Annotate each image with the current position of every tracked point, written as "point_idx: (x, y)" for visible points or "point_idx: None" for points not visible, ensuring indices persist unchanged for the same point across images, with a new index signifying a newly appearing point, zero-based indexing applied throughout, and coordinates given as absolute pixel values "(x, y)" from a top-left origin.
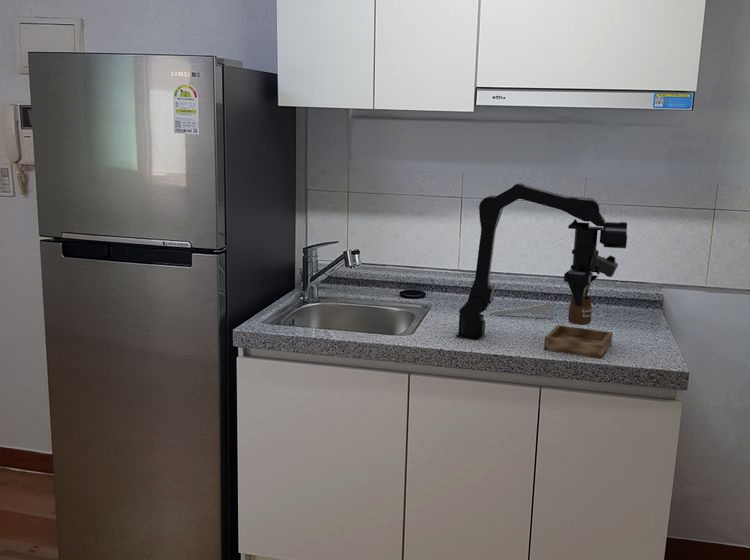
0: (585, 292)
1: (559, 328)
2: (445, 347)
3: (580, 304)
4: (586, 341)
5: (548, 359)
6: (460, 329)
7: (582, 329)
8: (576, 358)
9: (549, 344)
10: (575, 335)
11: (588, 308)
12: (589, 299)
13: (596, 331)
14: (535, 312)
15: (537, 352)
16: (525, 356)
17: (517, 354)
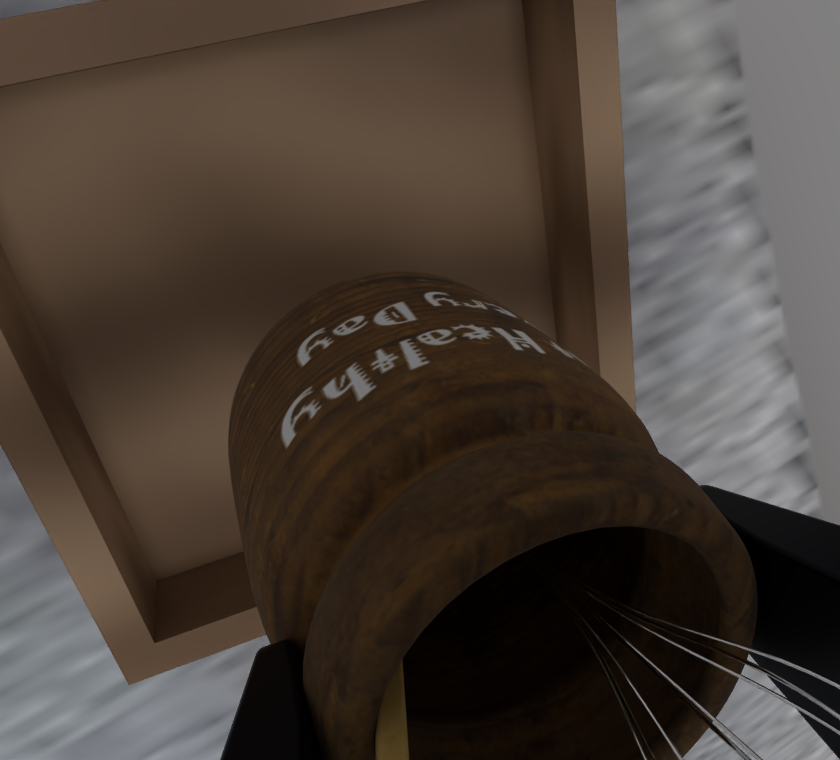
0: None
1: (194, 617)
2: (815, 749)
3: (730, 495)
4: (171, 290)
5: (778, 294)
6: None
7: (54, 441)
8: (652, 143)
9: None
10: (97, 462)
11: (569, 364)
12: (619, 481)
13: None
14: None
15: (662, 435)
16: (782, 433)
17: (766, 487)
